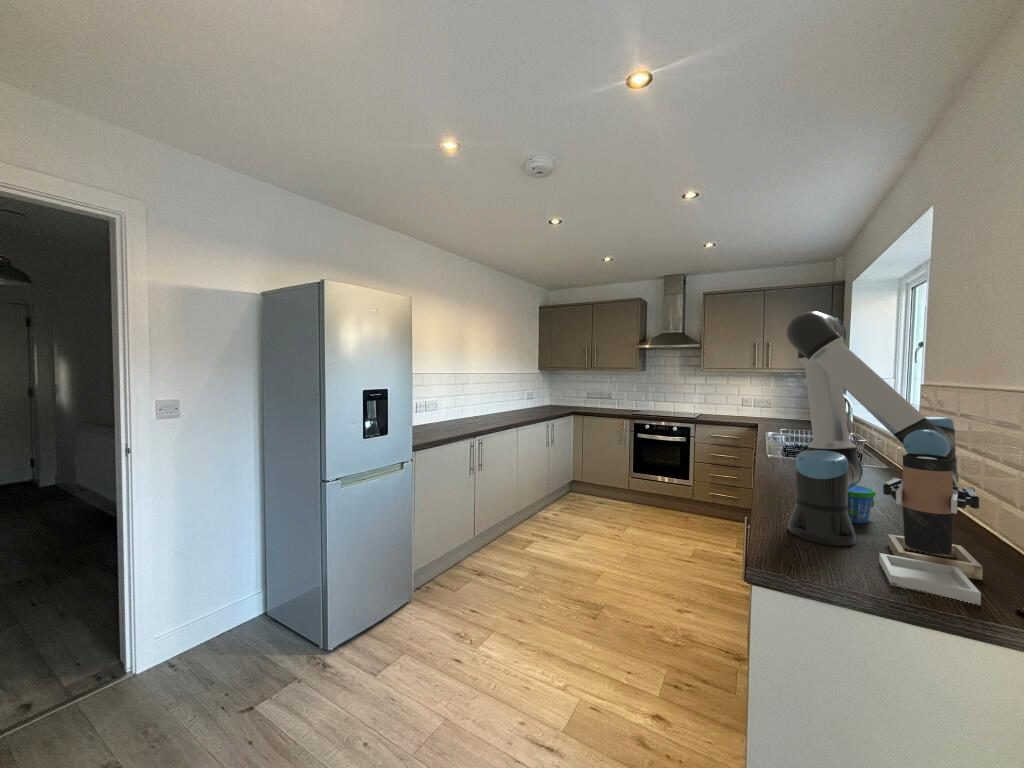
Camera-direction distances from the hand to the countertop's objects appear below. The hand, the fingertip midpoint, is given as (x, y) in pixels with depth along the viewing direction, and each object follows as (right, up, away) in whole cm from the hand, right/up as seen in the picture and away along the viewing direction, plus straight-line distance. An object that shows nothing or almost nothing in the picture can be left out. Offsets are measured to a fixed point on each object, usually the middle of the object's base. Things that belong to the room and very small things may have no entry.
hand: (925, 502), depth 84 cm
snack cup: (+20, -18, +42) cm, 50 cm away
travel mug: (+4, -11, +3) cm, 12 cm away
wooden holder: (+15, -18, +14) cm, 28 cm away
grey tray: (+4, -19, +4) cm, 19 cm away
